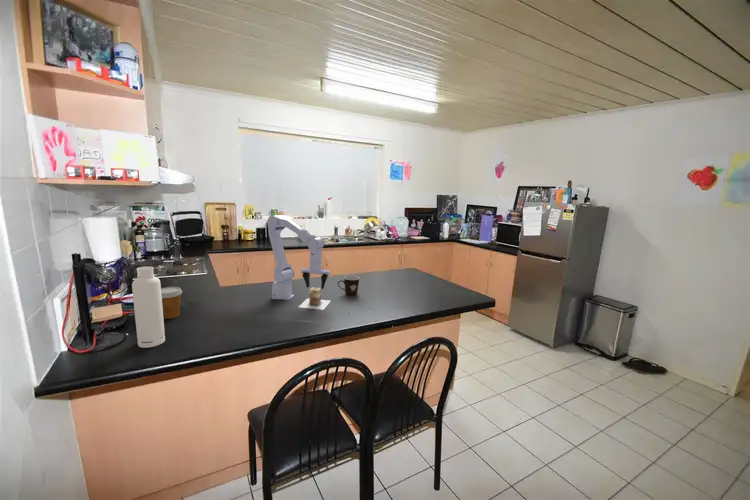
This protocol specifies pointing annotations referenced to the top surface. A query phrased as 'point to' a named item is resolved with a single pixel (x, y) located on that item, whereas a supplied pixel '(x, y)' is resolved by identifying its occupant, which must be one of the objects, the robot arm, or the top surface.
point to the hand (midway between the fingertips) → (315, 287)
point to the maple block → (314, 292)
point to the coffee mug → (350, 285)
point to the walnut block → (315, 301)
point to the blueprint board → (320, 306)
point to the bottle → (148, 308)
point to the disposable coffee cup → (171, 302)
